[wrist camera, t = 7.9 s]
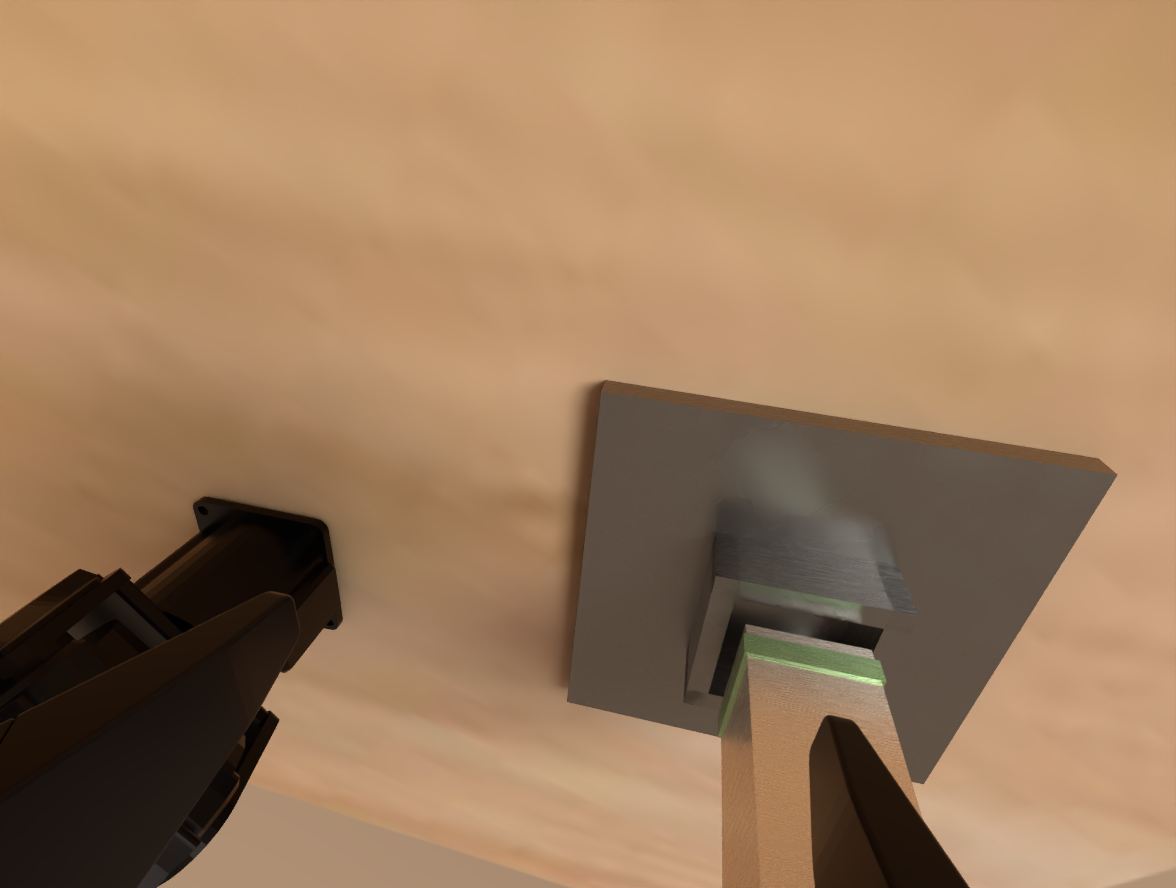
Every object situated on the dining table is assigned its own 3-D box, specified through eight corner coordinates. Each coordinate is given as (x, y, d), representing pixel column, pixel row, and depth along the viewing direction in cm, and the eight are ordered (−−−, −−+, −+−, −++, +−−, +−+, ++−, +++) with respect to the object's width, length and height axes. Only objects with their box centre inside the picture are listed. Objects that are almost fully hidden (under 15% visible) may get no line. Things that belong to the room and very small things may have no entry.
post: (717, 704, 21) (718, 1038, 13) (742, 621, 19) (761, 957, 11) (837, 731, 21) (910, 1095, 13) (876, 648, 19) (990, 1020, 11)
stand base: (571, 684, 28) (554, 750, 25) (606, 380, 21) (586, 423, 18) (916, 762, 26) (942, 844, 23) (1098, 458, 19) (1173, 522, 16)
